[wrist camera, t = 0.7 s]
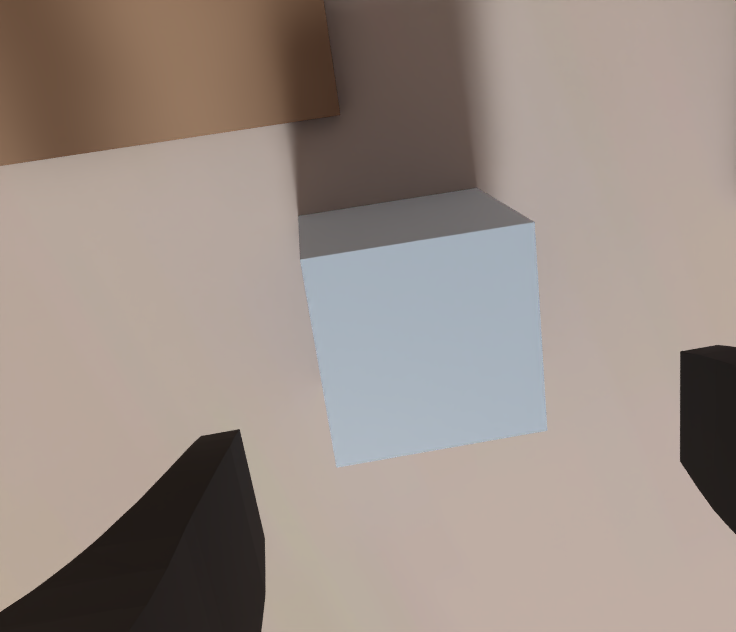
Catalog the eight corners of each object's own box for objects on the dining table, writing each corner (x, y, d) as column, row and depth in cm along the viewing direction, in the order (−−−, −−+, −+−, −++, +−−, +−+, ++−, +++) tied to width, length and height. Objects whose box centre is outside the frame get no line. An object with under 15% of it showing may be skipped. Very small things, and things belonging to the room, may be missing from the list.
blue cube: (476, 187, 20) (534, 222, 15) (490, 352, 21) (547, 430, 17) (298, 215, 19) (300, 259, 15) (326, 380, 21) (336, 467, 16)
